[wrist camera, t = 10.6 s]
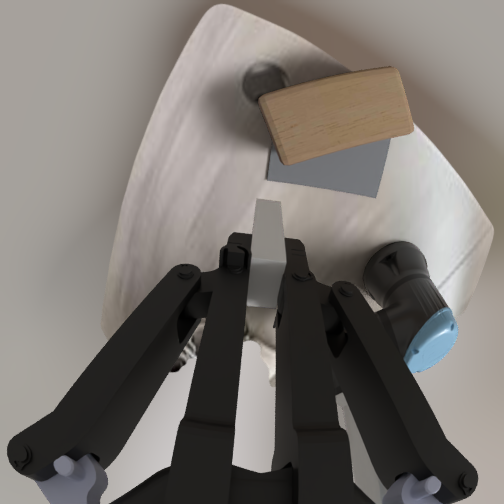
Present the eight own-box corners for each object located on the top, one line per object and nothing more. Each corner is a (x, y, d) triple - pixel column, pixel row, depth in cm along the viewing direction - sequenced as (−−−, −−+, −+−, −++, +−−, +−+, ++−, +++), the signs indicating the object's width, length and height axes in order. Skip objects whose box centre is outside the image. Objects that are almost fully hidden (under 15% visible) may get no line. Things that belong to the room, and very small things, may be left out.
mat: (391, 130, 38) (392, 130, 38) (375, 197, 45) (375, 198, 45) (276, 104, 38) (277, 104, 38) (267, 179, 45) (267, 180, 45)
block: (279, 156, 42) (389, 126, 38) (282, 169, 33) (417, 133, 29) (257, 100, 37) (372, 71, 33) (255, 96, 29) (399, 64, 24)
